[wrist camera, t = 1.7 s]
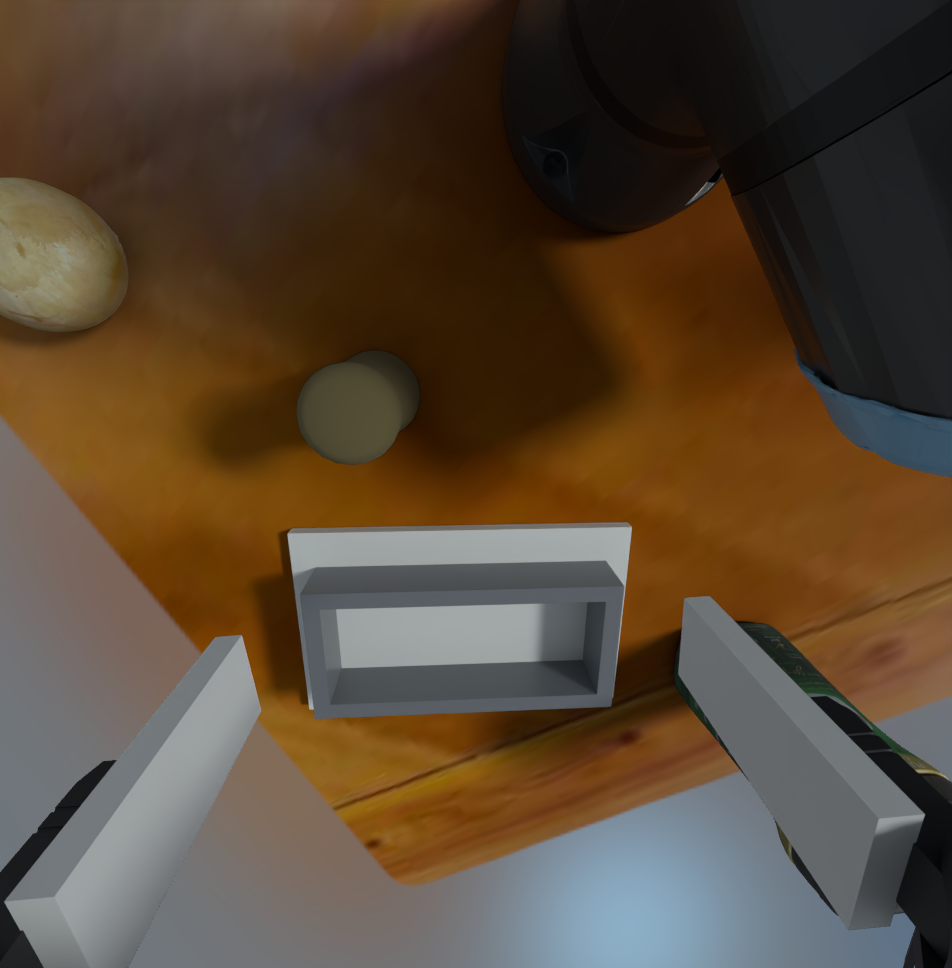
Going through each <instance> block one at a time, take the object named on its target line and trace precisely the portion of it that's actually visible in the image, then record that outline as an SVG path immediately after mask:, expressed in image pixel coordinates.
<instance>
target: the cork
mask: <svg viewBox="0 0 952 968" xmlns="http://www.w3.org/2000/svg"><path fill="white" fill-rule="evenodd" d="M419 400H420V391H419V386H418V381H417V379H416V377H415V375H414V374H413V372H412V370H411V368H410V367H409V366H408V365H407V364H406V363H405V362H403V361H402V360H401V359H400V358H398V357H396V356H394V355H392V354H390V353H388V352H383V351H376V350H372V351H366V352H361V353H359V354H357V355H355V356H353V357H351V358H350V359H348V360H347V361H346V362H342V363H337V364H331V365H327V366H326V367H324V368H322V369H320V370H319V371H317V372H315V373H314V374H313V375H312V376H311V377H310V378H309V379H308V381H307V382H306V383H305V384H304V385H303V388H302V391H301V393H300V396H299V398H298V401H297V421H298V424H299V428H300V431H301V434H302V435H303V437H304V438H305V440H306V441H307V443H308V444H309V446H310V447H311V448H312V449H313V450H315V451H316V452H317V453H318V454H319V455H321V456H322V457H324V458H326V459H329V460H331V461H333V462H335V463H341V464H349V465H355V464H360V463H366V462H370V461H372V460H374V459H376V458H378V457H379V456H381V455H383V454H384V453H385V452H386V451H387V450H388V449H389V447H390V446H391V445H392V444H393V443H394V441H395V438H396V436H397V434H398V432H399V431H401V430H403V429H405V427H406V426H407V425H408V424H409V423H410V422H411V421H412V420H413V419H414V417H415V414H416V412H417V410H418V408H419Z"/></svg>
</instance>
